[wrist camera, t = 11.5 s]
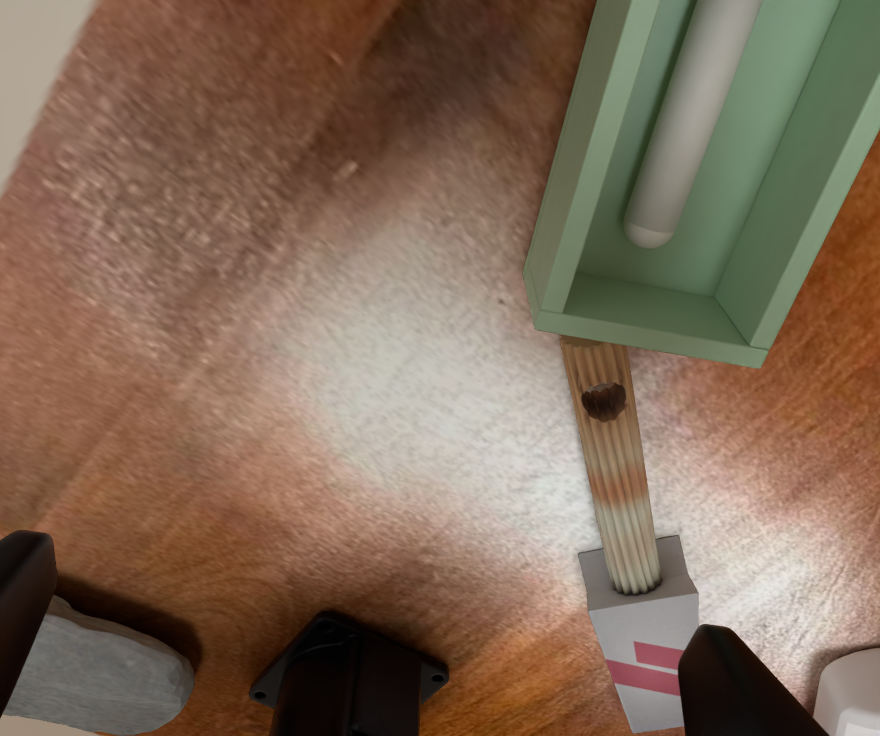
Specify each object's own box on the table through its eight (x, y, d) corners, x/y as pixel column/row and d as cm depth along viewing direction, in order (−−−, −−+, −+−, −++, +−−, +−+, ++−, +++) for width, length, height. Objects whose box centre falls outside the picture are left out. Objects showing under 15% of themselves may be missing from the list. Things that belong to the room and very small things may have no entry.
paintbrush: (701, 690, 32) (643, 296, 22) (721, 751, 30) (666, 340, 20) (614, 704, 33) (518, 326, 22) (627, 764, 30) (526, 373, 20)
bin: (718, 310, 22) (760, 370, 19) (521, 274, 22) (533, 330, 19) (909, -124, 16) (1013, -136, 13) (648, -189, 16) (695, -215, 13)
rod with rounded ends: (671, 248, 20) (660, 261, 19) (623, 231, 21) (610, 244, 19) (786, -54, 16) (782, -59, 15) (725, -67, 17) (716, -72, 16)
